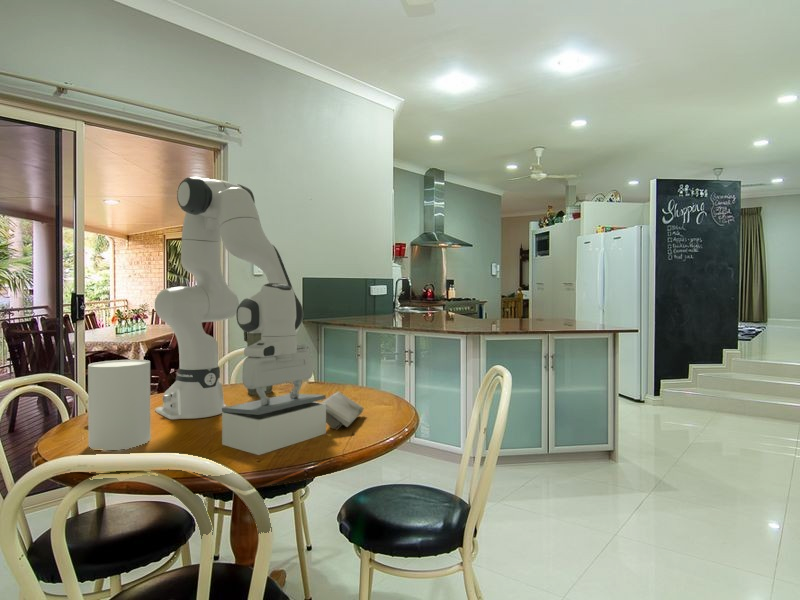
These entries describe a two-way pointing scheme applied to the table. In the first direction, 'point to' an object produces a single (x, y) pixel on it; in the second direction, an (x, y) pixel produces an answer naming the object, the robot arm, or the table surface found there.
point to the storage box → (273, 428)
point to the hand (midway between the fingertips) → (280, 401)
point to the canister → (118, 404)
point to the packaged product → (341, 410)
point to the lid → (272, 404)
